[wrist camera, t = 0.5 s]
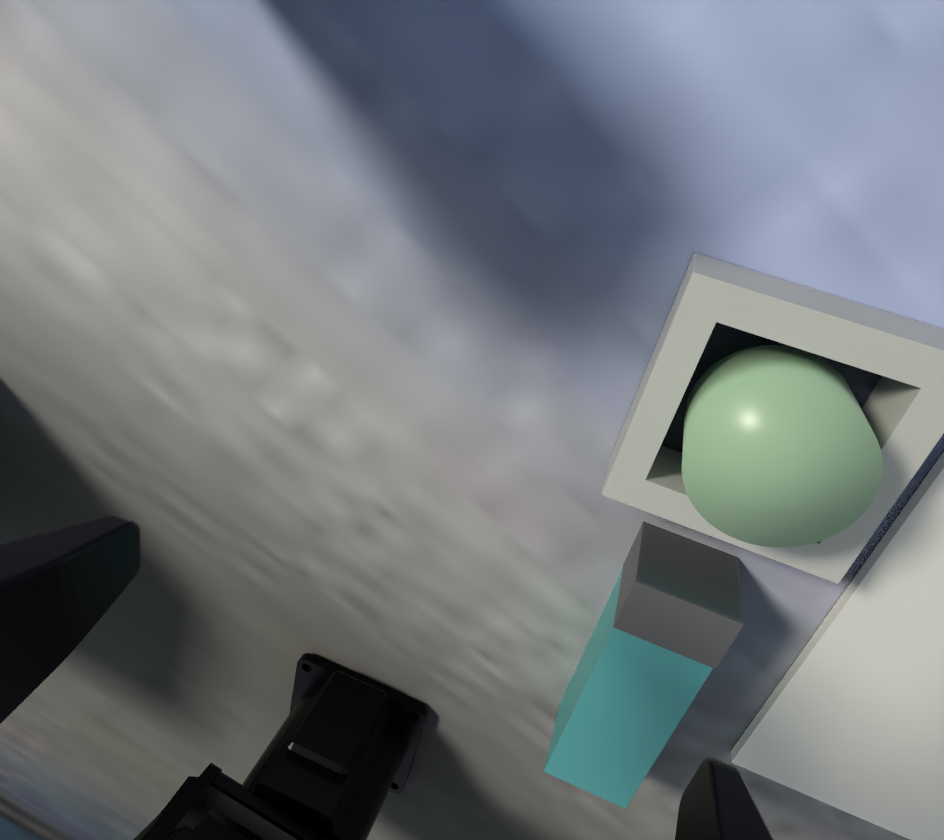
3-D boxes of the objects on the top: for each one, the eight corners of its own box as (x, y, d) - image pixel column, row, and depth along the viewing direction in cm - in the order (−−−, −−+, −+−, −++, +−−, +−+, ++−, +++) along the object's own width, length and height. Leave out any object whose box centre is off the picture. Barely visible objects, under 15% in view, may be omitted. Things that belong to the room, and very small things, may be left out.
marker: (626, 749, 27) (618, 824, 24) (552, 717, 28) (535, 786, 25) (738, 557, 22) (743, 624, 19) (643, 521, 22) (635, 581, 20)
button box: (824, 534, 21) (838, 584, 18) (611, 456, 22) (601, 494, 20) (954, 332, 17) (991, 365, 15) (693, 252, 18) (693, 271, 16)
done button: (808, 508, 19) (824, 572, 16) (661, 456, 20) (655, 508, 17) (889, 377, 17) (923, 426, 14) (721, 323, 18) (725, 360, 15)
